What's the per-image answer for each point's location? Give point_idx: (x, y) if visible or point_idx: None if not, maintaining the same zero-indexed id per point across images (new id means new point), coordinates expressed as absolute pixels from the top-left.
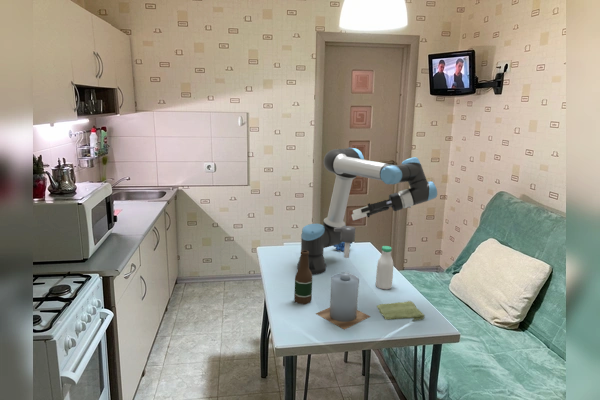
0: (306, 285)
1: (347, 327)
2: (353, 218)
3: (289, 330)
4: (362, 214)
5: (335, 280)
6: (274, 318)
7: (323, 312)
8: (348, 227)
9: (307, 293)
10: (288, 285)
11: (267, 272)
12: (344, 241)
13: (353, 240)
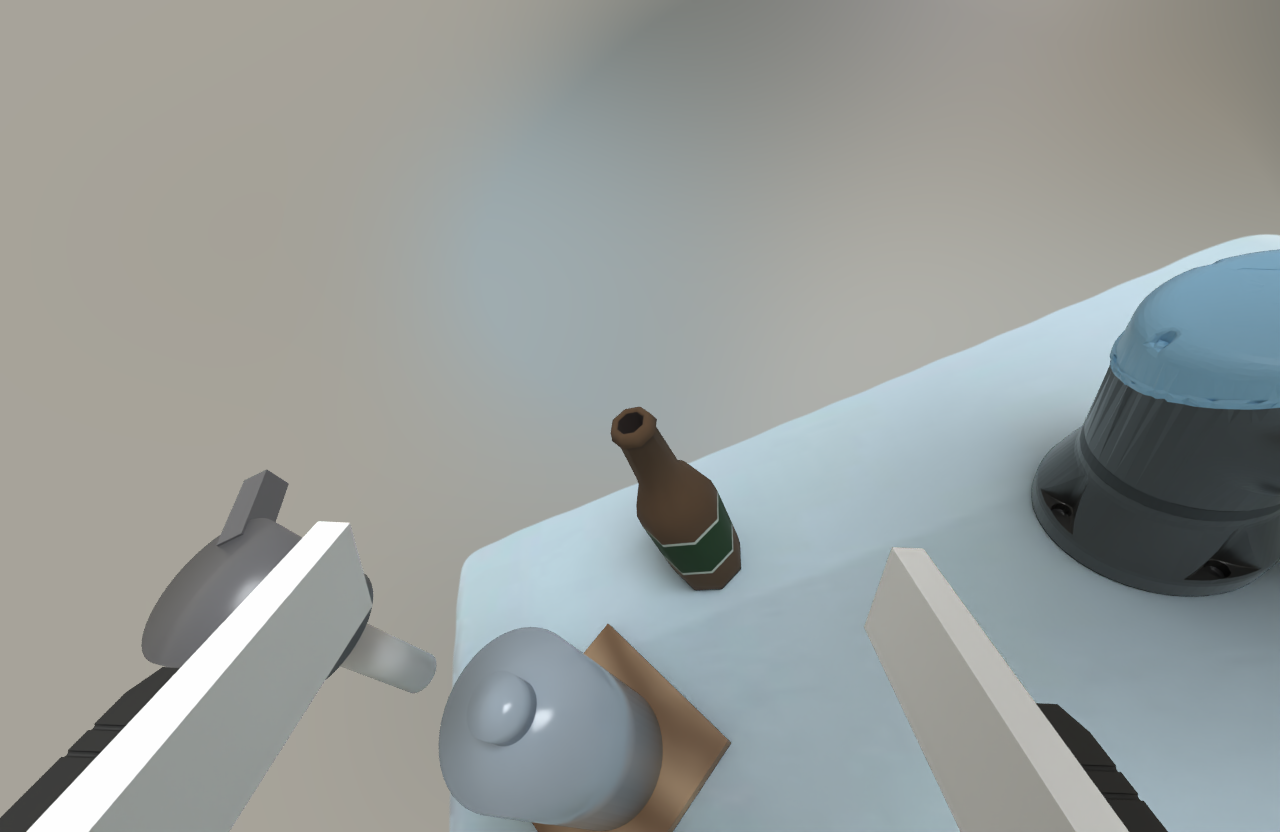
0: (648, 534)
1: None
2: (876, 616)
3: (525, 562)
4: (994, 808)
5: (494, 653)
6: (589, 503)
7: (618, 655)
8: (226, 583)
9: (666, 556)
10: (847, 469)
11: (939, 364)
12: None
13: None
